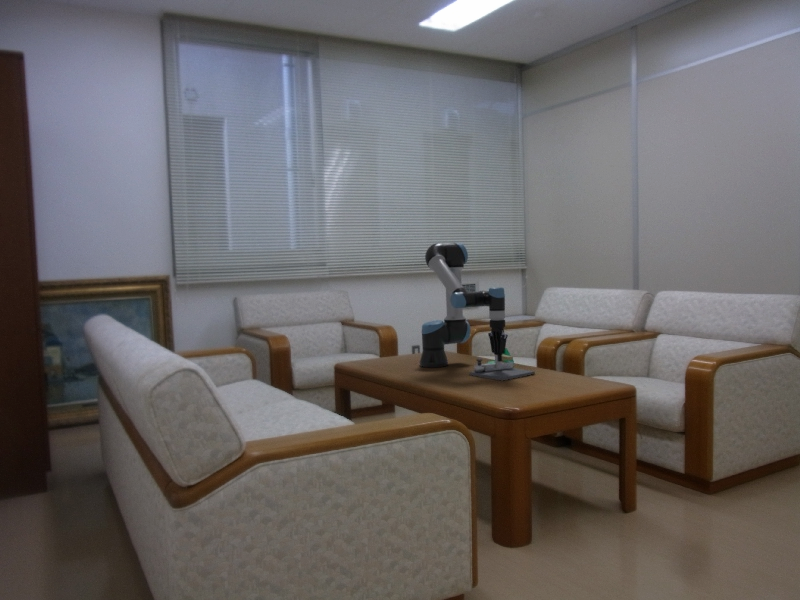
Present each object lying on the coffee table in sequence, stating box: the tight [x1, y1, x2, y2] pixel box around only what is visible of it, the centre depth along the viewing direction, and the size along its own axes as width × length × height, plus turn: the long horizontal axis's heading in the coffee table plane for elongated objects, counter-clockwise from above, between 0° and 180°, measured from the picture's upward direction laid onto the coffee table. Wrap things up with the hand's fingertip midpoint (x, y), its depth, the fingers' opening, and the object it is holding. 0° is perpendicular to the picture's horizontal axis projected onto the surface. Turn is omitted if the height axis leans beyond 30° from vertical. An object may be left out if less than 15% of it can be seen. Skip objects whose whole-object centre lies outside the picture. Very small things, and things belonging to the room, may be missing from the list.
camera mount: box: [486, 347, 515, 365], centre depth 341 cm, size 12×8×10 cm, turn 120°
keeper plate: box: [468, 355, 536, 382], centre depth 316 cm, size 22×22×8 cm
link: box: [473, 358, 514, 372], centre depth 321 cm, size 20×5×6 cm, turn 114°
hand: (498, 367), depth 319 cm, fingers closed
